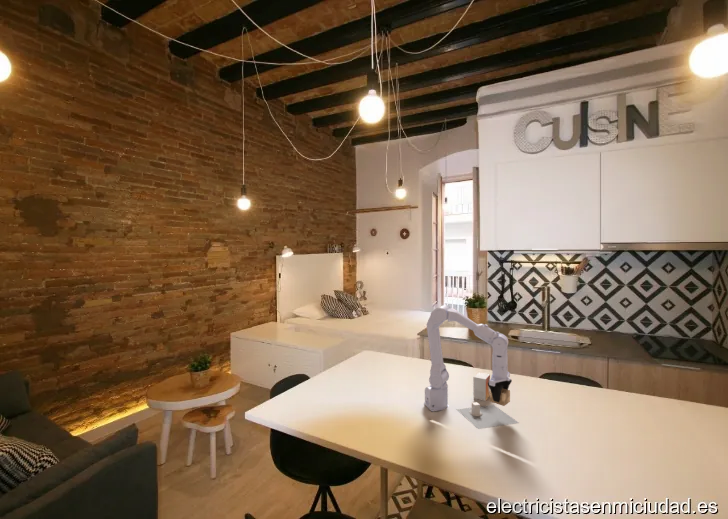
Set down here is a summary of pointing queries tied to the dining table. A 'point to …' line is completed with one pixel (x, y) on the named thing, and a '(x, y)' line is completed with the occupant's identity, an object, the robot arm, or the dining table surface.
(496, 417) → the panel
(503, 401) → the wooden cubby shelf
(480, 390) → the small box
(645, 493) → the dining table surface
